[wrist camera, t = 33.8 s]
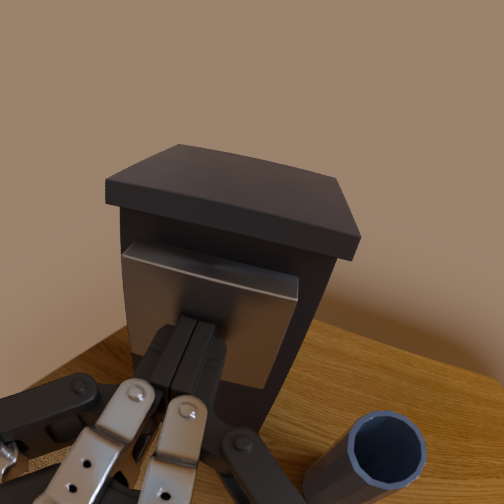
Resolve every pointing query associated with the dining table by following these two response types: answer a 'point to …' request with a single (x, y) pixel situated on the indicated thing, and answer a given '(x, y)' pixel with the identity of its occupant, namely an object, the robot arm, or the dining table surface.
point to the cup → (367, 461)
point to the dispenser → (241, 236)
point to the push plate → (209, 304)
